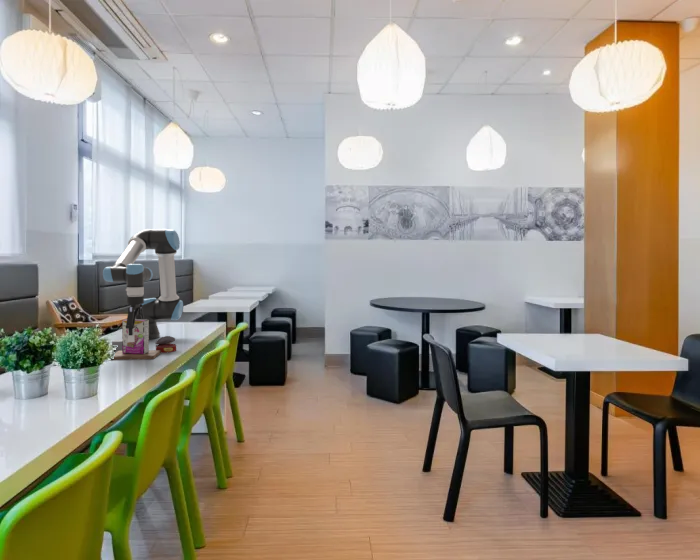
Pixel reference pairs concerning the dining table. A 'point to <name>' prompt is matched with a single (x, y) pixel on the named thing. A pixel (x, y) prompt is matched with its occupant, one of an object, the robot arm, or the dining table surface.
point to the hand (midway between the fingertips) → (135, 339)
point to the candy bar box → (136, 337)
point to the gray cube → (119, 343)
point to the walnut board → (136, 355)
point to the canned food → (164, 346)
